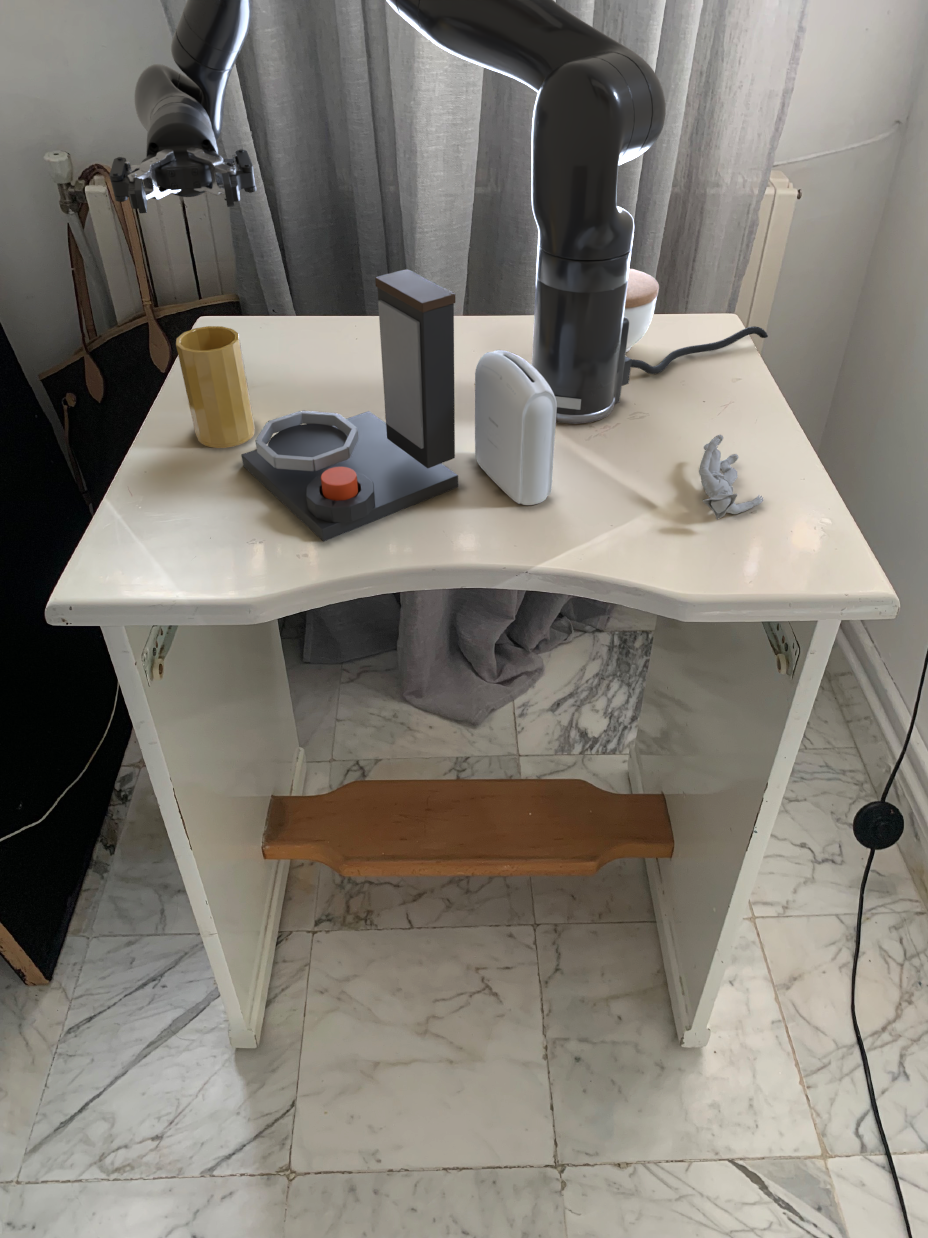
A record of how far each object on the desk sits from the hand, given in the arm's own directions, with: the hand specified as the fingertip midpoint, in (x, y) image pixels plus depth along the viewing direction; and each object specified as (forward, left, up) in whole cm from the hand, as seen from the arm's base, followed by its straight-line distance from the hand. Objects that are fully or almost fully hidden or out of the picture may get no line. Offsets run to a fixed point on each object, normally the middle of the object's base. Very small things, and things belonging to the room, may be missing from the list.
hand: (185, 199), depth 89 cm
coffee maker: (-2, +24, -17) cm, 30 cm away
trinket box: (-44, +17, -21) cm, 51 cm away
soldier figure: (-29, +48, -21) cm, 60 cm away
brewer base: (-2, +24, -21) cm, 32 cm away
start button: (+2, +30, -18) cm, 35 cm away
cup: (+4, +9, -21) cm, 23 cm away
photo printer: (-15, +34, -21) cm, 43 cm away
